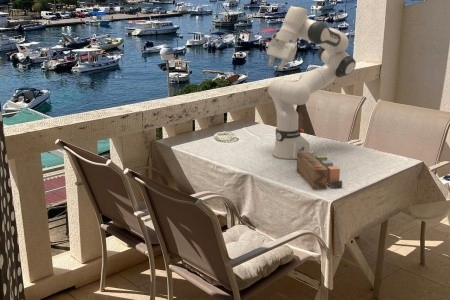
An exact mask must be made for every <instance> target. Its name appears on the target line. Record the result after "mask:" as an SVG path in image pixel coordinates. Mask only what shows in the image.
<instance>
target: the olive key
mask: <svg viewBox="0 0 450 300" xmlns="http://www.w3.org/2000/svg"><path fill="white" fill-rule="evenodd" d="M314 157H315V158H316V159H317V160H318V161H319V162H320V163H321V161H326V160H328V157H327V156H326V155H325V154H317V155H315V156H314Z"/></svg>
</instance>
